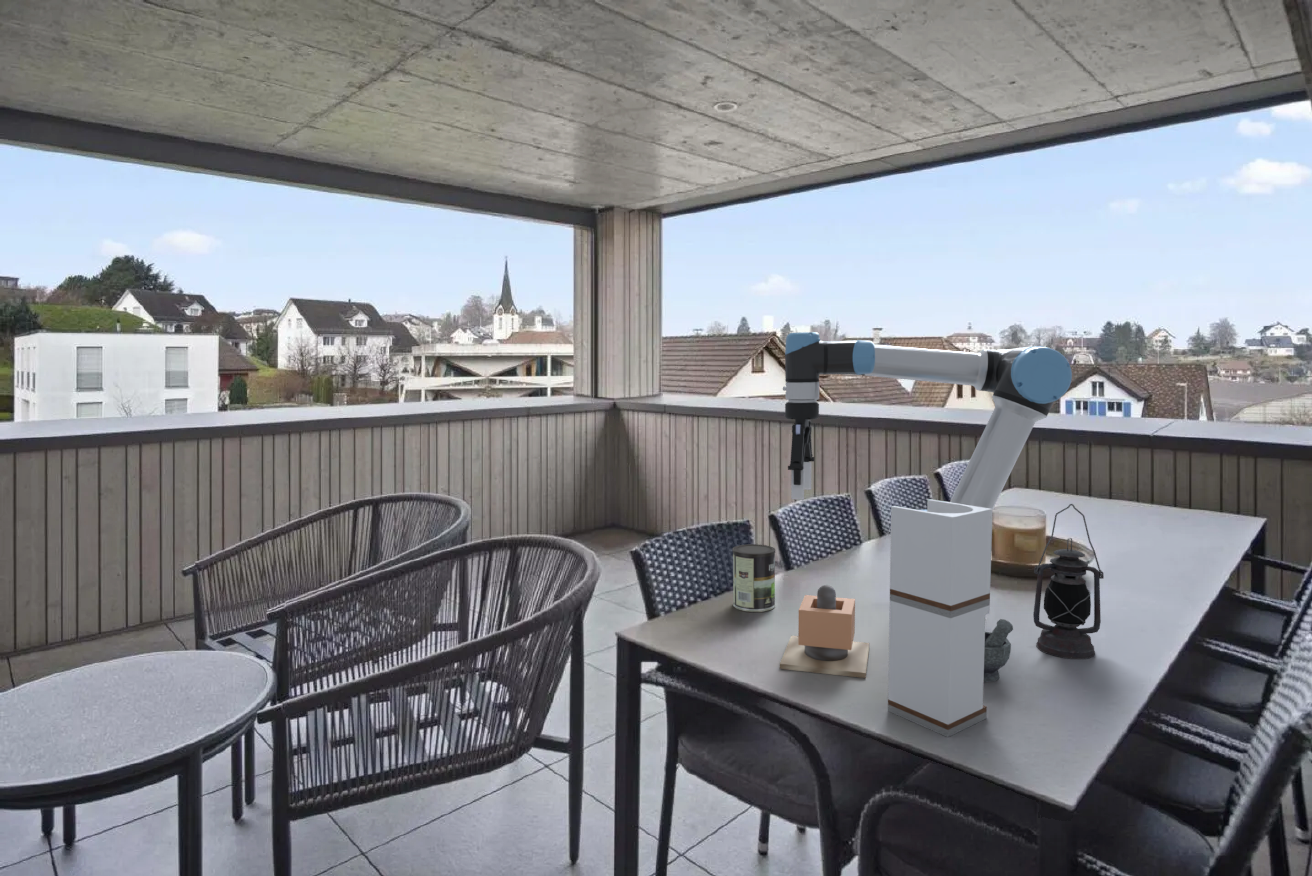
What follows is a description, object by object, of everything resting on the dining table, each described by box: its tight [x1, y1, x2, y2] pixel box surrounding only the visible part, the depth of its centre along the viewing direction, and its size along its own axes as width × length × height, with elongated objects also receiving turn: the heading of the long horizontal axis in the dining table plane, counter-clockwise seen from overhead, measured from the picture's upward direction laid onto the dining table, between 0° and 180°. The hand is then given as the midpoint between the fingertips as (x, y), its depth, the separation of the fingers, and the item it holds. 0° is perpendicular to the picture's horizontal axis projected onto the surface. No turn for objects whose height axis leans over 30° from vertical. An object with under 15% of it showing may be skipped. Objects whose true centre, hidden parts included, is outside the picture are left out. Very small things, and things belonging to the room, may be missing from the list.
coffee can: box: [731, 543, 776, 613], centre depth 186 cm, size 10×10×14 cm
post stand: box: [779, 584, 870, 679], centre depth 152 cm, size 16×16×15 cm
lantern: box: [1032, 503, 1105, 660], centre depth 155 cm, size 12×11×30 cm
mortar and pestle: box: [983, 618, 1014, 683], centre depth 143 cm, size 11×9×12 cm
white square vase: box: [887, 498, 994, 738], centre depth 126 cm, size 11×11×35 cm
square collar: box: [797, 594, 856, 650], centre depth 152 cm, size 10×10×7 cm
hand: (801, 494), depth 175 cm, fingers open, 13 cm apart
